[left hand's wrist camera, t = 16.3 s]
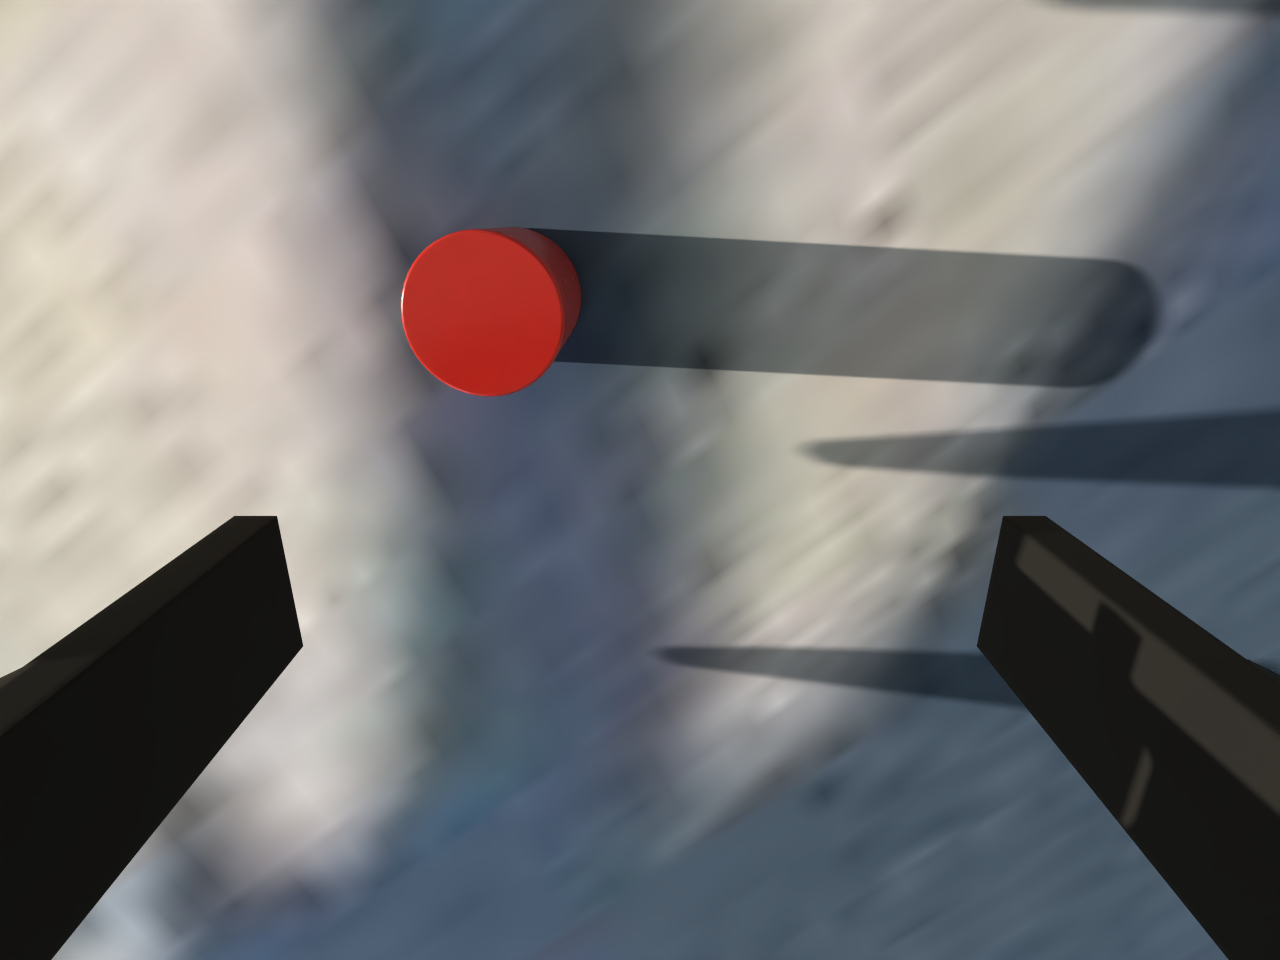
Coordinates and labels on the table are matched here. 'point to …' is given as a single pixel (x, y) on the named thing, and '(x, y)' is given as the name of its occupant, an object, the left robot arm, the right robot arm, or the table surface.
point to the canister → (490, 308)
